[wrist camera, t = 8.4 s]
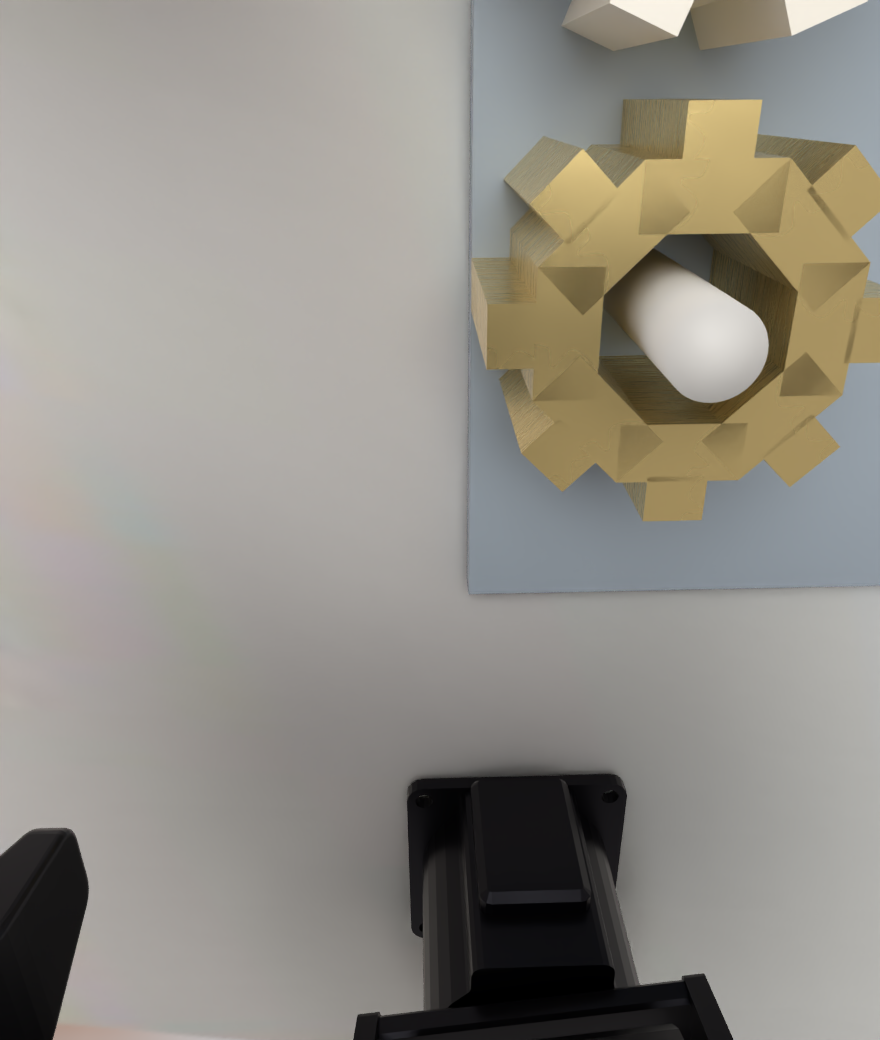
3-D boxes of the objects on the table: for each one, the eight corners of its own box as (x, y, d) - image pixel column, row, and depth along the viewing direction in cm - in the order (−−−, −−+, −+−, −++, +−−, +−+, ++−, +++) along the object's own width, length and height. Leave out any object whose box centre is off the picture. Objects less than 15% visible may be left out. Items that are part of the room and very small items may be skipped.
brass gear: (829, 97, 17) (958, 97, 13) (770, 432, 20) (859, 516, 16) (472, 101, 16) (490, 103, 12) (470, 438, 20) (484, 524, 16)
